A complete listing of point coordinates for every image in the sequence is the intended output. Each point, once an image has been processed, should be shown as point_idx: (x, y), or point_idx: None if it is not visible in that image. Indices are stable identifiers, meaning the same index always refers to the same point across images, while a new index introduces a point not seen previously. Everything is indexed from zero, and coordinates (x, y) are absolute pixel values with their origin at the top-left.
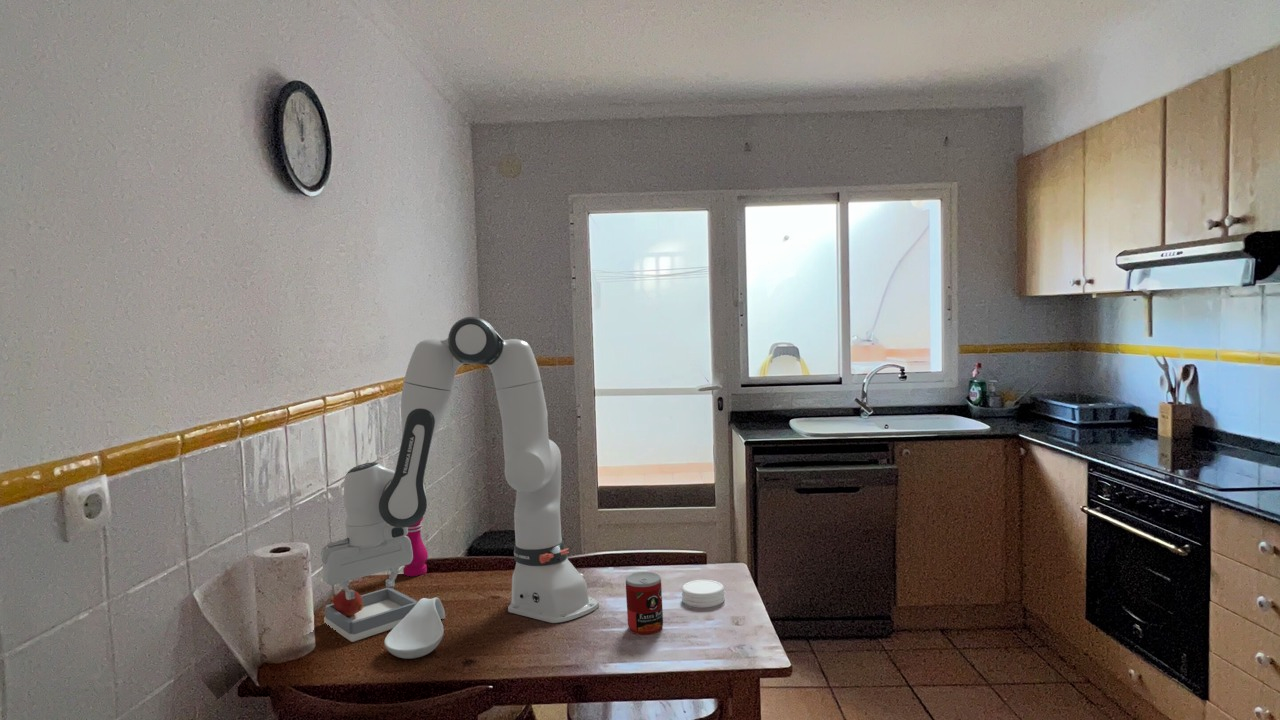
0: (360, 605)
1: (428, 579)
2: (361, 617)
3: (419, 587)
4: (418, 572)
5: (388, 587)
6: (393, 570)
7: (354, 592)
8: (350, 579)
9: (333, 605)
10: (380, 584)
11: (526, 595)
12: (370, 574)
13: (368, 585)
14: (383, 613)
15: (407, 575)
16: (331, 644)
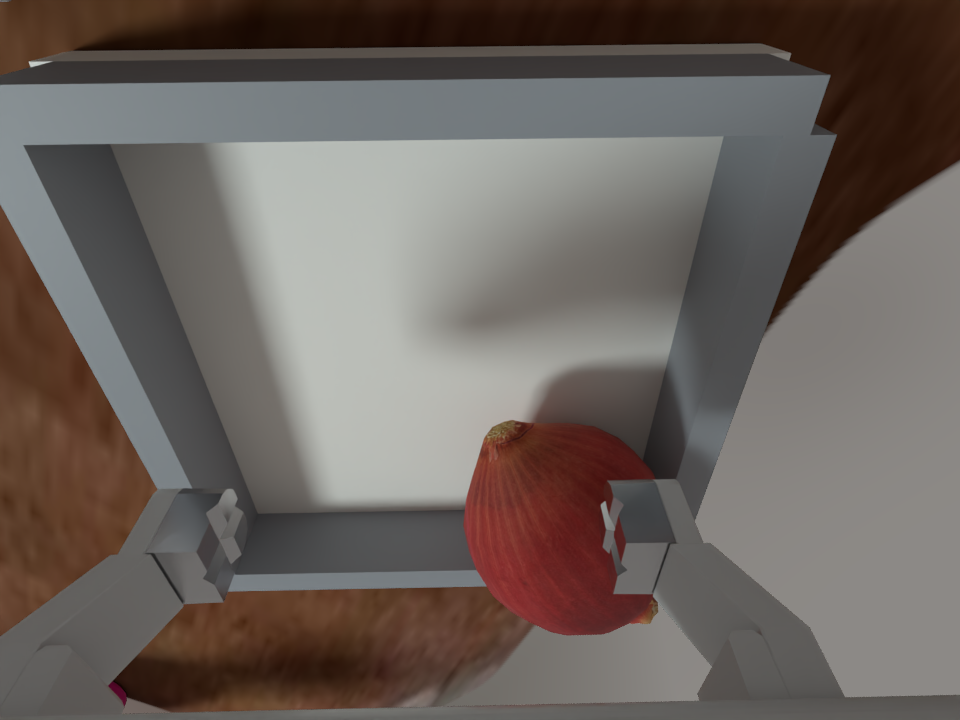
0: (512, 446)
1: (2, 617)
2: (511, 372)
3: (57, 570)
4: None
5: (229, 497)
6: (47, 682)
7: (625, 530)
8: (775, 711)
9: None
10: (245, 675)
11: None
12: (423, 711)
13: (295, 688)
14: (438, 86)
15: (109, 684)
16: (862, 150)
